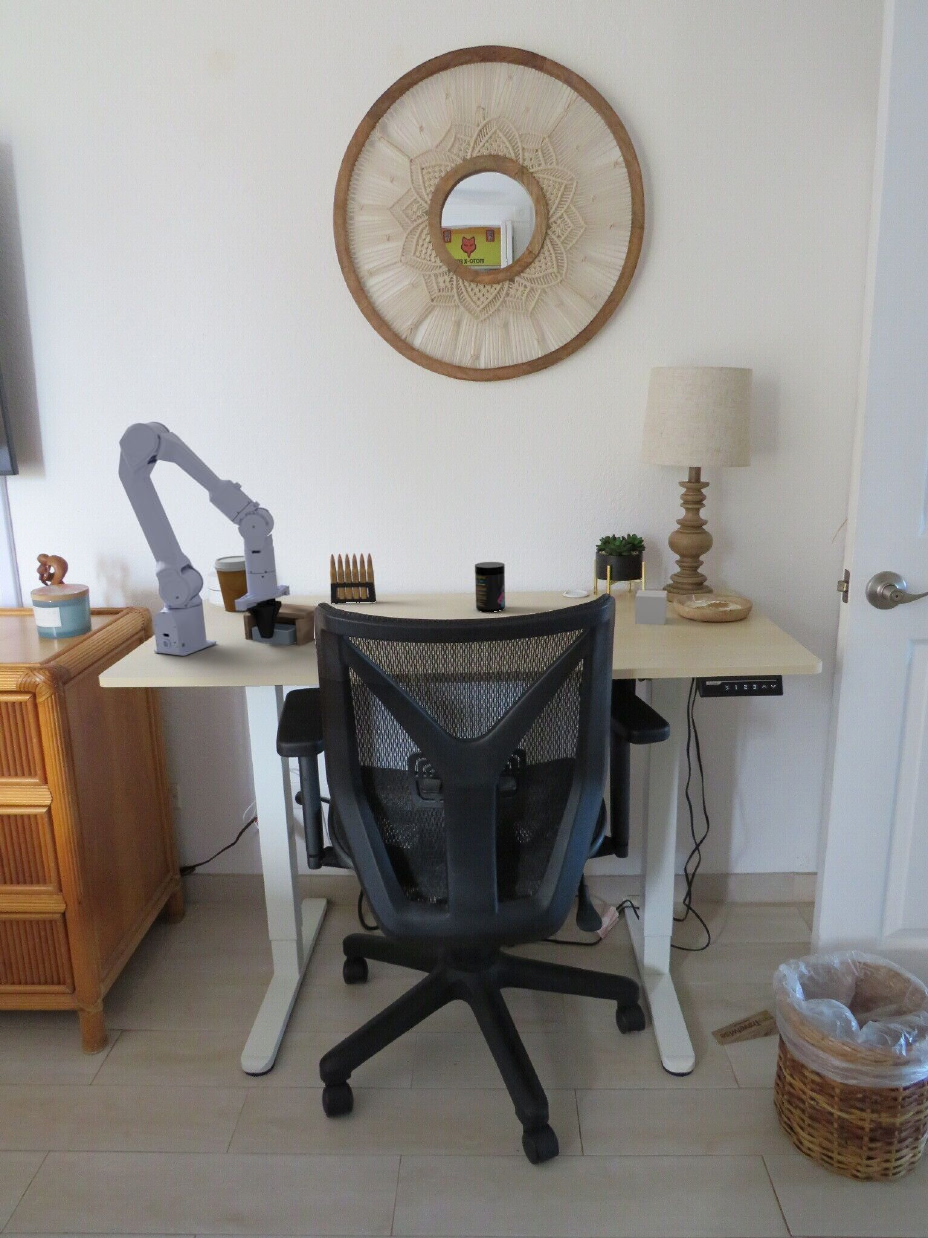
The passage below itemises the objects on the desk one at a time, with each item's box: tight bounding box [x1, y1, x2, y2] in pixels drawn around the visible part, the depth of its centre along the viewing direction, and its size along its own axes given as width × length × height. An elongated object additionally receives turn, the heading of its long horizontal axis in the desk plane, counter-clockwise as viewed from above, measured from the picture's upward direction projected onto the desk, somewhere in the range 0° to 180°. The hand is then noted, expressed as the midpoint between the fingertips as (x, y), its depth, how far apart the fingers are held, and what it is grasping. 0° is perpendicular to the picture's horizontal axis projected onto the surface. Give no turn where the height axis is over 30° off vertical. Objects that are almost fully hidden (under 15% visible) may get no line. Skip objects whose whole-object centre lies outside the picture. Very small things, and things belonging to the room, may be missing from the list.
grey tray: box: [252, 623, 297, 646], centre depth 175 cm, size 5×9×3 cm, turn 65°
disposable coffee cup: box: [213, 555, 248, 613], centre depth 202 cm, size 10×10×12 cm
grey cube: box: [634, 589, 668, 626], centre depth 181 cm, size 6×6×6 cm
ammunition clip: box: [329, 552, 377, 605], centre depth 204 cm, size 11×2×12 cm, turn 88°
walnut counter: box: [242, 602, 316, 646], centre depth 177 cm, size 8×14×6 cm, turn 65°
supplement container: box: [474, 561, 506, 613], centre depth 194 cm, size 7×7×10 cm
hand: (267, 637), depth 172 cm, fingers closed
